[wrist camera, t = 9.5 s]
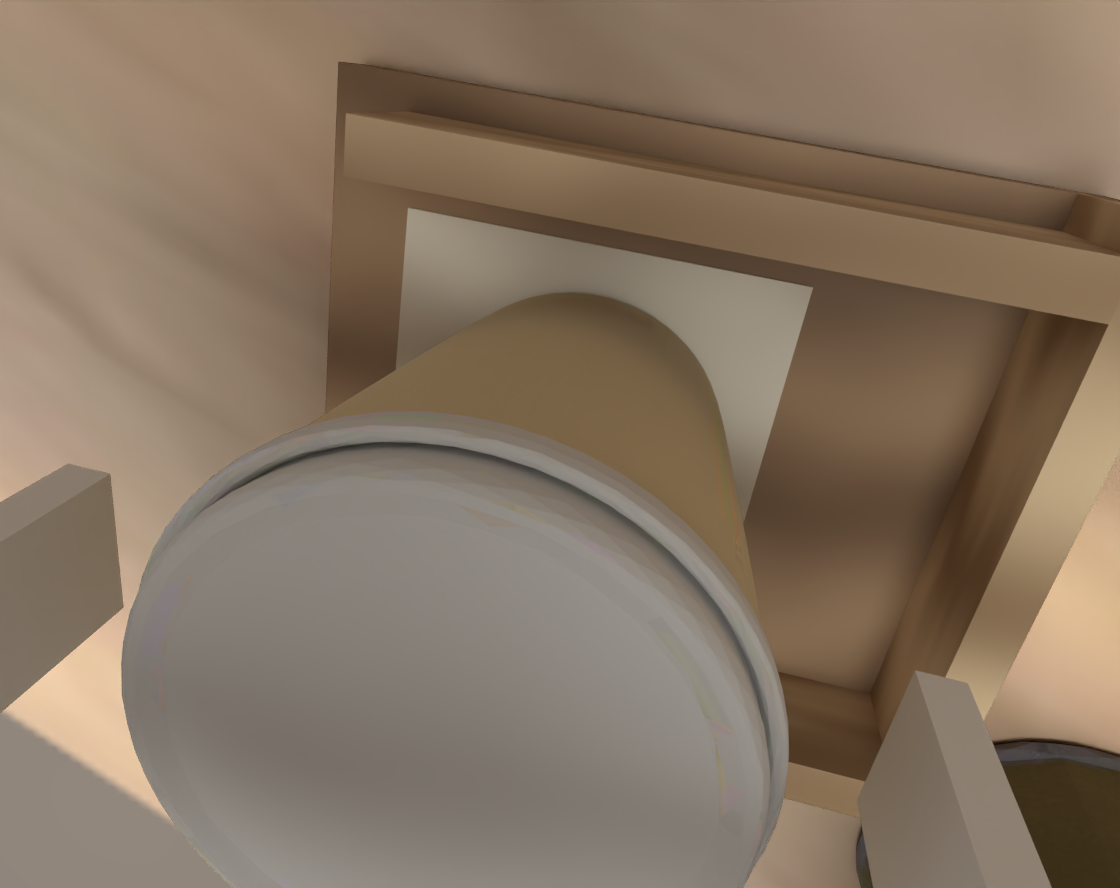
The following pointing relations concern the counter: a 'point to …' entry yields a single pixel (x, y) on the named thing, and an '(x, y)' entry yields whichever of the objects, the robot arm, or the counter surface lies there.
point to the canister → (1060, 811)
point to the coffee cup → (471, 629)
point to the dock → (779, 357)
